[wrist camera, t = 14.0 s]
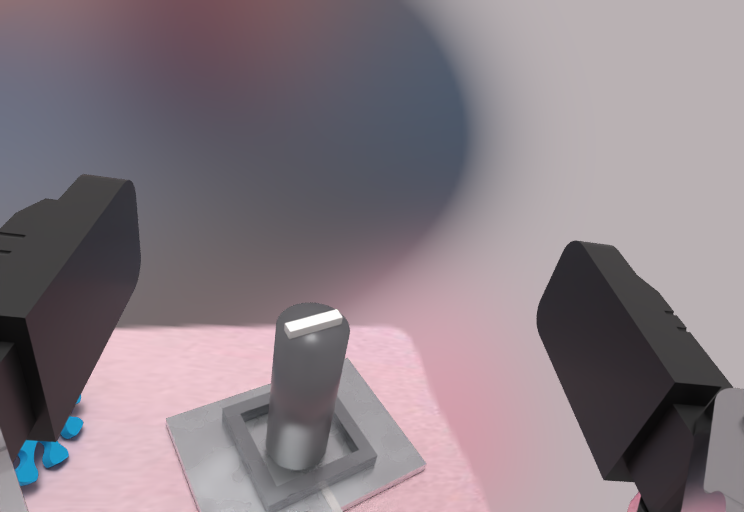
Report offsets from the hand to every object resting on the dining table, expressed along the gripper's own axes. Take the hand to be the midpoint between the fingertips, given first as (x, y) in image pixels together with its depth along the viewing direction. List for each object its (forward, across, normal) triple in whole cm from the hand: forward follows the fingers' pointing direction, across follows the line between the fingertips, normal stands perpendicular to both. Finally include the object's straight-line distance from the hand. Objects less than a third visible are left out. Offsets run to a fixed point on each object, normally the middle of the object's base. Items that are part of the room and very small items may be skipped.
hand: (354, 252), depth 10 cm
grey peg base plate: (+17, -1, +30) cm, 34 cm away
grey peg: (+17, -1, +29) cm, 34 cm away
